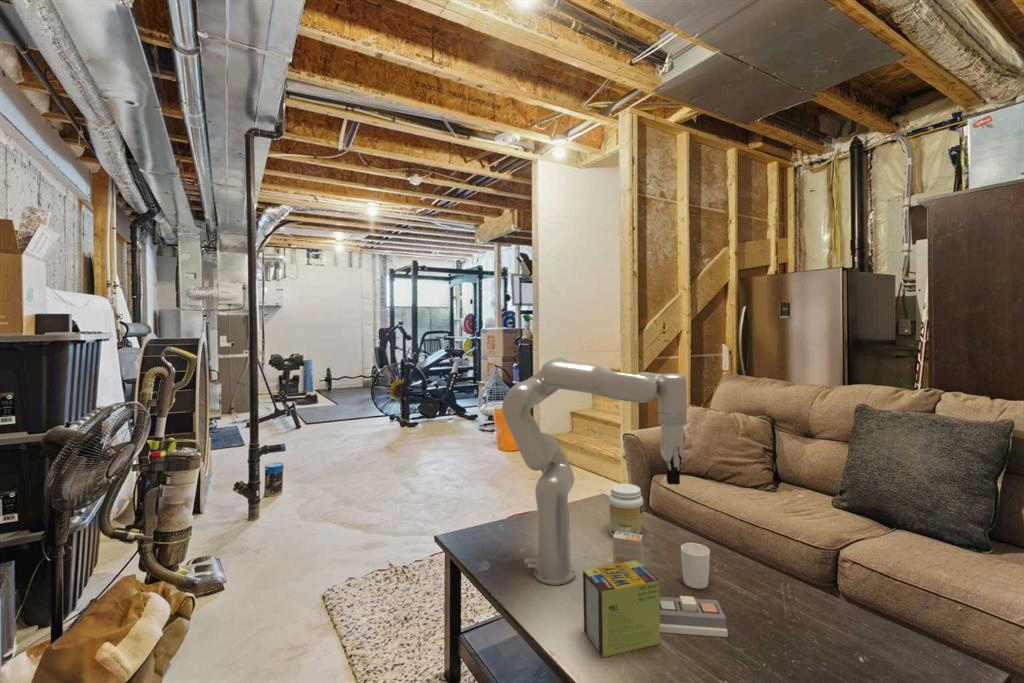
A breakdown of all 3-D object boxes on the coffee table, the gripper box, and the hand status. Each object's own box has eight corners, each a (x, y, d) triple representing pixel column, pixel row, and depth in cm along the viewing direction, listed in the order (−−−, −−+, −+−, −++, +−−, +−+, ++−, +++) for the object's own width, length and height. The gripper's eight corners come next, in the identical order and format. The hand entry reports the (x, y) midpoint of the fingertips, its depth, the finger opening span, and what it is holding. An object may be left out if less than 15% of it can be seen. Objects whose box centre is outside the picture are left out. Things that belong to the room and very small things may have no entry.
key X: (682, 612, 118) (682, 603, 118) (679, 604, 121) (679, 595, 121) (696, 613, 118) (696, 604, 117) (693, 605, 121) (693, 596, 121)
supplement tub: (648, 542, 163) (647, 493, 163) (613, 542, 164) (612, 494, 163) (639, 527, 176) (638, 482, 175) (606, 527, 176) (605, 482, 175)
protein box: (661, 644, 112) (660, 579, 111) (602, 658, 107) (601, 591, 107) (637, 618, 122) (636, 559, 121) (582, 630, 117) (581, 569, 117)
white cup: (712, 591, 133) (712, 556, 132) (683, 588, 134) (683, 554, 134) (707, 576, 141) (706, 543, 140) (679, 574, 142) (678, 541, 142)
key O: (662, 617, 119) (661, 608, 119) (659, 609, 122) (659, 600, 122) (676, 618, 118) (675, 609, 118) (673, 610, 122) (673, 601, 122)
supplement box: (644, 577, 141) (643, 534, 140) (641, 585, 136) (640, 541, 136) (616, 572, 144) (615, 530, 144) (613, 580, 140) (612, 536, 139)
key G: (703, 620, 117) (703, 611, 117) (700, 612, 121) (700, 603, 121) (718, 621, 117) (717, 612, 117) (714, 613, 120) (714, 603, 120)
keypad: (658, 632, 116) (658, 616, 116) (652, 607, 126) (652, 593, 126) (727, 637, 113) (727, 621, 113) (716, 612, 123) (715, 597, 123)
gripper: (654, 413, 139) (655, 474, 140) (662, 423, 124) (663, 492, 125) (681, 413, 138) (681, 475, 138) (692, 423, 123) (693, 493, 124)
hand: (673, 483), depth 132 cm, fingers closed
